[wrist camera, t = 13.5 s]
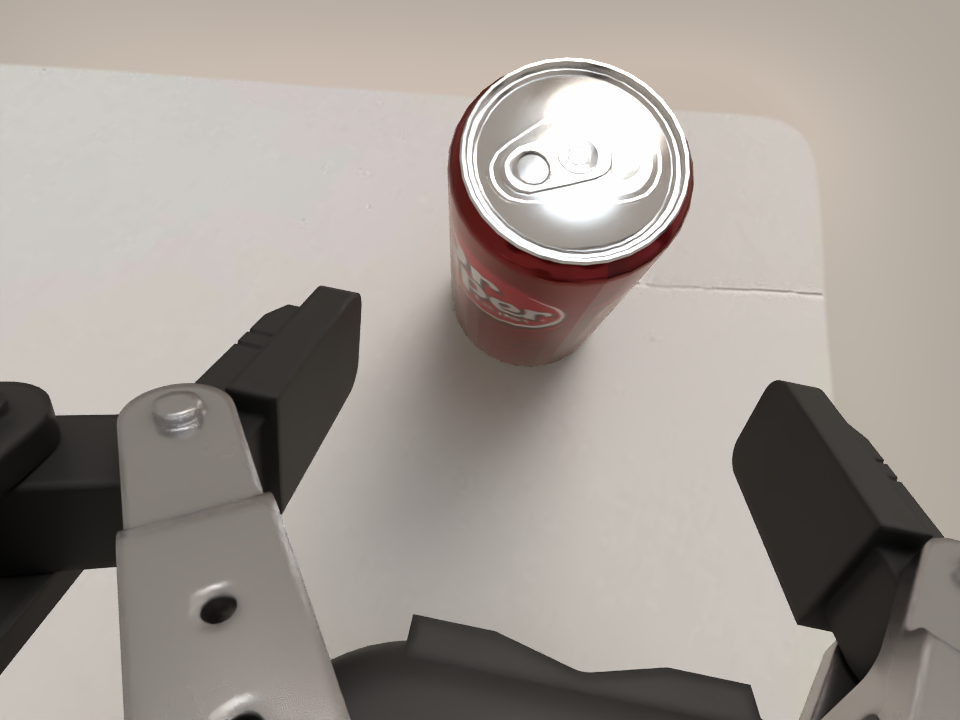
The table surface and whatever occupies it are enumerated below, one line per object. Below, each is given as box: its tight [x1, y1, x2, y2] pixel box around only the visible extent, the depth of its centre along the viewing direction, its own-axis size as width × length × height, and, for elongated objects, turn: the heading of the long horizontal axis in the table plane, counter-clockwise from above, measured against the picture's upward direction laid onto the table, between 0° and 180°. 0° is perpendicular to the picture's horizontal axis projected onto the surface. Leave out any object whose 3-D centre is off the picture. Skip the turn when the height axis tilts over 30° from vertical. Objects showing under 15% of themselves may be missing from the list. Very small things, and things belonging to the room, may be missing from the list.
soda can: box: [448, 58, 694, 367], centre depth 21 cm, size 7×7×12 cm
